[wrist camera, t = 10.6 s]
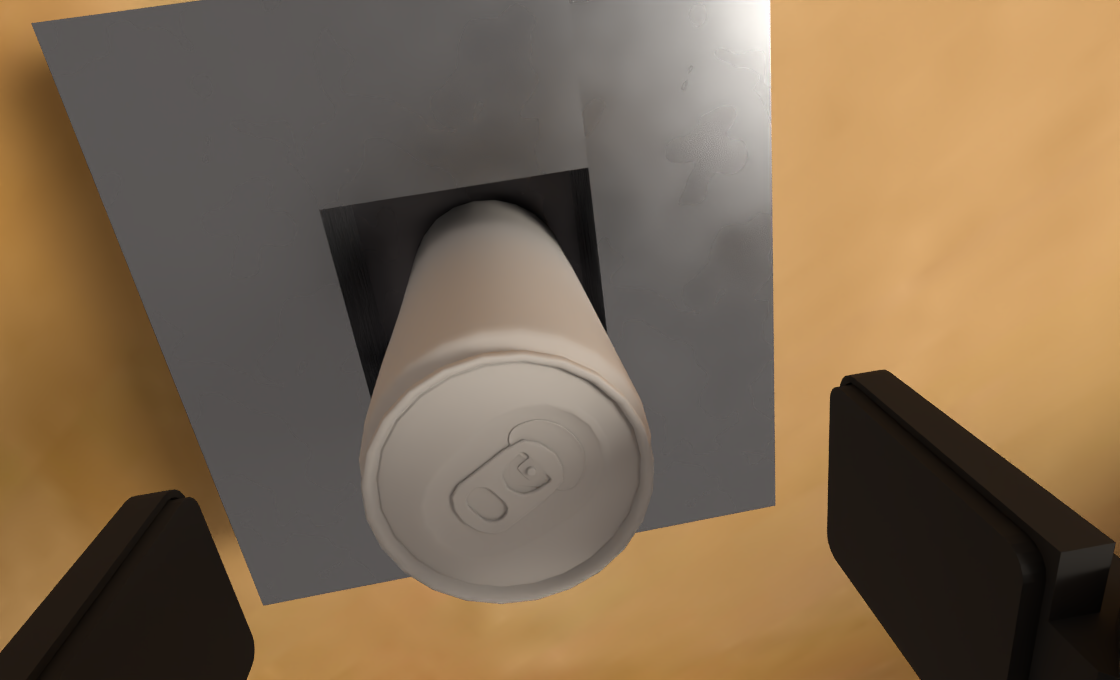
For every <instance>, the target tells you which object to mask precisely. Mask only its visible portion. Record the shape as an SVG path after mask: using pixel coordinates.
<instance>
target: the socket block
mask: <svg viewBox="0 0 1120 680" xmlns="http://www.w3.org/2000/svg"><path fill="white" fill-rule="evenodd" d="M31 24H32V26H33V29H34V31H35V34H36V36H37V39H38V41H39V44H40V46H41V49H42V51H43V54H44V56H45V59H46V61H47V64H48V66H49V69H50V71H51V74H52V76H53V79H54V81H55V84H56V86H57V89H58V91H59V94H60V97H61V99H62V102H63V104H64V107H65V109H66V112H67V114H68V117H69V119H70V122H71V124H72V127H73V129H74V132H75V134H76V137H77V139H78V142H79V144H80V147H81V149H82V152H83V154H84V157H85V159H86V162H87V164H88V167H89V169H90V172H91V174H92V177H93V179H94V182H95V184H96V187H97V189H98V192H99V194H100V197H101V199H102V202H103V204H104V207H105V209H106V212H107V214H108V217H109V219H110V222H111V224H112V227H113V230H114V232H115V235H116V237H117V240H118V242H119V245H120V247H121V250H122V252H123V255H124V257H125V260H126V262H127V265H128V267H129V270H130V272H131V275H132V277H133V280H134V282H135V285H136V287H137V290H138V292H139V295H140V297H141V300H142V302H143V305H144V307H145V310H146V312H147V315H148V317H149V320H150V322H151V325H152V327H153V330H154V332H155V335H156V337H157V340H158V342H159V345H160V347H161V350H162V352H163V355H164V358H165V360H166V363H167V365H168V368H169V370H170V373H171V375H172V378H173V380H174V383H175V385H176V388H177V390H178V393H179V395H180V398H181V400H182V403H183V405H184V408H185V410H186V413H187V415H188V418H189V420H190V423H191V425H192V428H193V430H194V433H195V435H196V438H197V440H198V443H199V445H200V448H201V450H202V453H203V455H204V458H205V460H206V463H207V465H208V468H209V470H210V473H211V475H212V478H213V480H214V483H215V486H216V488H217V491H218V493H219V496H220V498H221V501H222V503H223V506H224V508H225V511H226V513H227V516H228V518H229V521H230V523H231V526H232V528H233V531H234V533H235V536H236V538H237V541H238V543H239V546H240V548H241V551H242V553H243V556H244V558H245V561H246V563H247V566H248V568H249V571H250V573H251V576H252V578H253V581H254V583H255V586H256V588H257V591H258V593H259V596H260V598H261V601H262V603H263V606H264V605H269V604H274V603H279V602H284V601H289V600H294V599H299V598H305V597H310V596H315V595H320V594H325V593H330V592H335V591H340V590H345V589H351V588H356V587H361V586H366V585H371V584H376V583H381V582H386V581H391V580H397V579H402V578H407V577H411V576H410V575H408V574H406V573H405V572H404V571H403V570H402V569H401V568H400V567H399V566H398V565H397V564H396V563H395V562H394V561H393V560H392V559H391V558H390V557H389V556H388V555H387V554H386V552H385V551H384V550H383V549H382V548H381V547H380V545H379V543H378V541H377V539H376V537H375V535H374V533H373V531H372V529H371V527H370V525H369V523H368V521H367V519H366V515H365V509H364V502H363V496H362V490H361V480H362V477H361V470H360V464H359V457H360V450H361V443H362V437H363V430H364V424H365V419H366V415H367V412H368V408H369V405H370V402H371V398H372V395H373V391H374V388H375V385H376V381H377V378H378V375H379V372H380V369H381V365H382V362H383V359H384V356H385V354H386V351H387V348H388V345H389V342H390V339H391V336H392V333H393V330H394V327H395V324H396V321H397V318H398V315H399V312H400V309H401V305H402V302H403V299H404V295H405V292H406V288H407V285H408V281H409V277H410V274H411V270H412V266H413V263H414V259H415V256H416V253H417V251H418V248H419V246H420V244H421V241H422V239H423V237H424V235H425V234H426V233H427V231H428V230H429V229H430V227H431V226H432V225H433V223H434V222H435V221H436V219H438V218H439V217H441V216H442V215H444V214H445V213H447V212H448V211H450V210H451V209H452V208H454V207H457V206H460V205H463V204H466V203H470V202H473V201H486V200H497V201H502V202H507V203H511V204H516V205H518V206H520V207H522V208H524V209H526V210H528V211H530V212H531V213H533V214H535V215H536V216H537V217H538V218H539V219H541V220H542V221H543V222H544V223H545V224H546V225H547V226H548V227H549V228H550V229H551V231H552V232H553V234H554V235H555V237H556V239H557V240H558V242H559V243H560V245H561V247H562V249H563V251H564V253H565V255H566V256H567V258H568V260H569V262H570V264H571V266H572V268H573V270H574V272H575V274H576V276H577V278H578V280H579V282H580V283H581V285H582V287H583V289H584V291H585V293H586V295H587V297H588V299H589V301H590V303H591V305H592V307H593V308H594V310H595V312H596V314H597V316H598V318H599V320H600V322H601V324H602V326H603V328H604V330H605V332H606V333H607V335H608V337H609V339H610V341H611V343H612V345H613V347H614V349H615V351H616V353H617V355H618V357H619V359H620V360H621V362H622V364H623V366H624V368H625V370H626V372H627V374H628V376H629V378H630V380H631V382H632V384H633V385H634V387H635V389H636V391H637V393H638V395H639V397H640V399H641V402H642V405H643V408H644V412H645V415H646V419H647V422H648V426H649V429H650V433H651V450H652V453H653V457H654V474H653V492H652V495H651V498H650V501H649V504H648V507H647V510H646V513H645V516H644V519H643V522H642V523H641V525H640V526H639V528H638V529H637V531H636V532H635V533H637V532H642V531H647V530H652V529H657V528H662V527H668V526H673V525H678V524H683V523H688V522H693V521H698V520H703V519H708V518H714V517H719V516H724V515H729V514H734V513H739V512H744V511H749V510H754V509H760V508H765V507H770V506H775V429H774V334H773V238H772V143H771V48H770V0H200V1H193V2H186V3H178V4H171V5H163V6H156V7H148V8H141V9H134V10H126V11H119V12H111V13H104V14H97V15H89V16H82V17H74V18H67V19H60V20H52V21H45V22H37V23H31Z"/></svg>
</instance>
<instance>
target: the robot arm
mask: <svg viewBox="0 0 1120 680" xmlns="http://www.w3.org/2000/svg"><path fill="white" fill-rule="evenodd" d="M827 537H828V543H829V546H830V549H831V552H832V554H833V556H834V558H835V560H836V561H837V563H838V564H839V565H840V567H841V568H842V570H843V571H844V572H845V574H846V575H847V577H848V578H849V579H850V581H851V582H852V584H853V585H854V586H855V588H856V589H857V591H858V592H859V593H860V595H861V596H862V598H863V599H864V601H865V602H866V603H867V605H868V606H869V608H870V609H871V610H872V612H873V613H874V615H875V616H876V617H877V619H878V620H879V622H880V623H881V624H882V626H883V627H884V629H885V630H886V632H887V633H888V634H889V636H890V637H891V639H892V640H893V641H894V643H895V644H896V646H897V647H898V648H899V650H900V651H901V653H902V654H903V655H904V657H905V658H906V660H907V661H908V662H909V664H910V665H911V667H912V668H913V670H914V671H915V672H916V674H917V675H918V677H919V678H920V679H921V680H1120V558H1119V557H1118V556H1116V555H1115V554H1114V553H1113V552H1114V548H1115V544H1116V542H1114V541H1113V540H1112V539H1110V538H1109V537H1108V536H1106V535H1105V534H1104V533H1102V532H1101V531H1100V530H1098V529H1097V528H1096V527H1094V526H1093V525H1092V524H1090V523H1089V522H1088V521H1086V520H1085V519H1084V518H1082V517H1081V516H1080V515H1078V514H1077V513H1076V512H1075V511H1073V510H1072V509H1071V508H1069V507H1068V506H1067V505H1065V504H1064V503H1063V502H1061V501H1060V500H1059V499H1057V498H1056V497H1055V496H1053V495H1052V494H1051V493H1049V492H1048V491H1047V490H1045V489H1044V488H1043V487H1041V486H1040V485H1039V484H1037V483H1036V482H1035V481H1033V480H1032V479H1031V478H1029V477H1028V476H1027V475H1025V474H1024V473H1023V472H1022V471H1020V470H1019V469H1018V468H1016V467H1015V466H1014V465H1012V464H1011V463H1010V462H1008V461H1007V460H1006V459H1004V458H1003V457H1002V456H1000V455H999V454H998V453H996V452H995V451H994V450H992V449H991V448H990V447H988V446H987V445H986V444H984V443H983V442H982V441H980V440H979V439H978V438H976V437H975V436H974V435H972V434H971V433H970V432H969V431H967V430H966V429H965V428H963V427H962V426H961V425H959V424H958V423H957V422H955V421H954V420H953V419H951V418H950V417H949V416H947V415H946V414H945V413H943V412H942V411H941V410H939V409H938V408H937V407H935V406H934V405H933V404H931V403H930V402H929V401H927V400H926V399H925V398H923V397H922V396H921V395H919V394H918V393H917V392H915V391H914V390H913V389H912V388H910V387H909V386H908V385H906V384H905V383H904V382H902V381H901V380H900V379H898V378H897V377H896V376H894V375H893V374H892V373H890V372H889V371H887V370H877V371H871V372H865V373H860V374H854V375H848V376H845V377H844V378H843V379H842V381H841V384H840V387H835V388H833V389H832V391H831V395H830V424H829V471H828V517H827ZM253 660H254V640H253V637H252V634H251V631H250V629H249V626H248V624H247V621H246V619H245V617H244V614H243V612H242V609H241V607H240V604H239V602H238V600H237V597H236V595H235V592H234V590H233V587H232V585H231V582H230V580H229V578H228V575H227V573H226V570H225V568H224V565H223V563H222V560H221V558H220V556H219V553H218V551H217V548H216V546H215V543H214V541H213V539H212V536H211V534H210V531H209V529H208V526H207V524H206V521H205V519H204V517H203V514H202V512H201V509H200V507H199V505H198V503H197V501H196V500H195V499H194V498H191V497H187V498H185V496H184V495H183V494H182V493H181V492H180V491H178V490H175V489H174V490H168V491H162V492H156V493H150V494H144V495H138V496H134V497H131V498H129V499H128V500H127V501H126V502H125V503H124V504H123V505H122V507H121V508H120V509H119V510H118V511H117V513H116V514H115V515H114V516H113V518H112V519H111V520H110V521H109V522H108V524H107V525H106V526H105V527H104V528H103V530H102V531H101V532H100V533H99V534H98V536H97V537H96V538H95V539H94V540H93V542H92V543H91V544H90V545H89V546H88V548H87V549H86V550H85V551H84V552H83V554H82V555H81V556H80V557H79V559H78V560H77V561H76V562H75V563H74V565H73V566H72V567H71V568H70V569H69V571H68V572H67V573H66V574H65V575H64V577H63V578H62V579H61V580H60V581H59V583H58V584H57V585H56V586H55V587H54V589H53V590H52V591H51V592H50V594H49V595H48V596H47V597H46V598H45V600H44V601H43V602H42V603H41V604H40V606H39V607H38V608H37V609H36V610H35V612H34V613H33V614H32V615H31V616H30V618H29V619H28V620H27V621H26V622H25V624H24V625H23V626H22V627H21V628H20V630H19V631H18V632H17V633H16V635H15V636H14V637H13V638H12V639H11V641H10V642H9V643H8V644H7V645H6V647H5V648H4V649H3V650H2V651H1V653H0V680H247V677H248V675H249V672H250V670H251V667H252V664H253Z"/></svg>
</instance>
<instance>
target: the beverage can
mask: <svg viewBox="0 0 1120 680" xmlns="http://www.w3.org/2000/svg"><path fill="white" fill-rule="evenodd" d="M359 464H360V470H361V477H362V480H361V490H362V496H363V502H364V509H365V515H366V519H367V521H368V523H369V525H370V527H371V529H372V531H373V533H374V535H375V537H376V539H377V541H378V543H379V545H380V547H381V548H382V549H383V550H384V551H385V552H386V554H387V555H388V556H389V557H390V558H391V559H392V560H393V561H394V562H395V563H396V564H397V565H398V566H399V567H400V568H401V569H402V570H403V571H404V572H405V573H406V574H408V575H410V576H411V577H413V578H415V579H416V580H418V581H419V582H421V583H423V584H424V585H426V586H428V587H429V588H431V589H433V590H435V591H438V592H441V593H444V594H448V595H451V596H454V597H457V598H460V599H463V600H466V601H476V602H487V603H498V604H504V603H513V602H522V601H531V600H538V599H541V598H544V597H547V596H550V595H553V594H556V593H559V592H562V591H565V590H568V589H571V588H572V587H574V586H576V585H578V584H579V583H581V582H583V581H585V580H586V579H588V578H590V577H592V576H593V575H595V574H597V573H599V572H600V571H601V570H602V569H603V568H604V567H606V566H607V565H608V564H609V563H610V562H611V561H612V560H613V559H614V558H615V557H616V556H617V555H619V554H620V553H621V552H622V551H623V550H624V549H625V547H626V546H627V544H628V543H629V541H630V540H631V538H632V537H633V535H634V534H635V532H636V531H637V529H638V528H639V526H640V525H641V523H642V522H643V519H644V516H645V513H646V510H647V507H648V504H649V501H650V498H651V495H652V492H653V474H654V457H653V453H652V450H651V433H650V429H649V426H648V422H647V419H646V415H645V412H644V408H643V405H642V402H641V399H640V397H639V395H638V393H637V391H636V389H635V387H634V385H633V384H632V382H631V380H630V378H629V376H628V374H627V372H626V370H625V368H624V366H623V364H622V362H621V360H620V359H619V357H618V355H617V353H616V351H615V349H614V347H613V345H612V343H611V341H610V339H609V337H608V335H607V333H606V332H605V330H604V328H603V326H602V324H601V322H600V320H599V318H598V316H597V314H596V312H595V310H594V308H593V307H592V305H591V303H590V301H589V299H588V297H587V295H586V293H585V291H584V289H583V287H582V285H581V283H580V282H579V280H578V278H577V276H576V274H575V272H574V270H573V268H572V266H571V264H570V262H569V260H568V258H567V256H566V255H565V253H564V251H563V249H562V247H561V245H560V243H559V242H558V240H557V239H556V237H555V235H554V234H553V232H552V231H551V229H550V228H549V227H548V226H547V225H546V224H545V223H544V222H543V221H542V220H541V219H539V218H538V217H537V216H536V215H535V214H533V213H531V212H530V211H528V210H526V209H524V208H522V207H520V206H518V205H516V204H511V203H507V202H502V201H497V200H486V201H473V202H470V203H466V204H463V205H460V206H457V207H454V208H452V209H451V210H450V211H448V212H447V213H445V214H444V215H442V216H441V217H439V218H438V219H436V221H435V222H434V223H433V225H432V226H431V227H430V229H429V230H428V231H427V233H426V234H425V235H424V237H423V239H422V241H421V244H420V246H419V248H418V251H417V253H416V256H415V259H414V263H413V266H412V270H411V274H410V277H409V281H408V285H407V288H406V292H405V295H404V299H403V302H402V305H401V309H400V312H399V315H398V318H397V321H396V324H395V327H394V330H393V333H392V336H391V339H390V342H389V345H388V348H387V351H386V354H385V356H384V359H383V362H382V365H381V369H380V372H379V375H378V378H377V381H376V385H375V388H374V391H373V395H372V398H371V402H370V405H369V408H368V412H367V415H366V419H365V424H364V430H363V437H362V443H361V450H360V457H359Z"/></svg>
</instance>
